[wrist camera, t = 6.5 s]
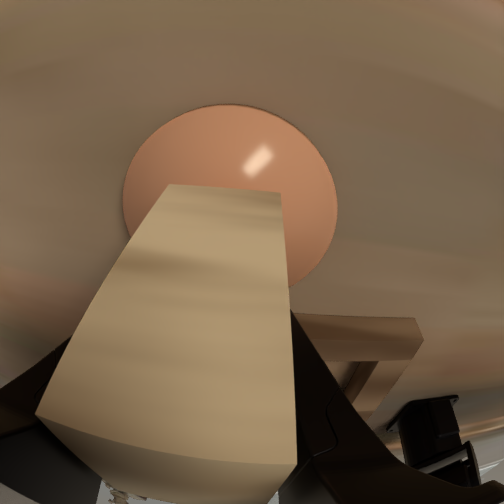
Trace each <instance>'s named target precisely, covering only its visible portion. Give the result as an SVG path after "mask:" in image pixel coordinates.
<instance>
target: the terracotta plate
mask: <svg viewBox="0 0 504 504" xmlns="http://www.w3.org/2000/svg"><path fill="white" fill-rule="evenodd" d="M169 184H176V185H193V186H209V187H222V188H235V189H247V190H258V191H269V192H279V193H281V204H282V215H283V226H284V238H285V250H286V262H287V275H288V288H289V287H291V286H293V285H294V284H296V283H297V282H299V281H300V280H301V279H303V278H304V277H305V276H306V275H307V274H308V273H310V272H311V271H312V270H313V269H314V267H315V266H316V265H317V264H318V263H319V262H320V260H321V259H322V257H323V256H324V254H325V253H326V251H327V249H328V247H329V245H330V243H331V240H332V237H333V234H334V231H335V227H336V221H337V196H336V189H335V186H334V183H333V179H332V176H331V174H330V172H329V169H328V167H327V165H326V163H325V161H324V160H323V158H322V156H321V155H320V153H319V152H318V150H317V149H316V147H315V146H314V144H313V143H312V142H311V141H310V140H309V139H308V138H307V136H306V135H305V134H304V133H303V132H301V131H300V130H299V129H298V128H297V127H295V126H294V125H293V124H291V123H290V122H288V121H287V120H285V119H283V118H282V117H280V116H278V115H276V114H273V113H271V112H269V111H266V110H263V109H260V108H256V107H253V106H248V105H240V104H216V105H209V106H203V107H200V108H197V109H193V110H190V111H188V112H186V113H184V114H181V115H179V116H177V117H176V118H174V119H172V120H171V121H169V122H168V123H166V124H165V125H163V126H162V127H160V128H159V129H158V130H156V131H155V132H154V133H153V134H152V135H151V136H150V137H149V138H148V139H147V140H146V141H145V142H144V143H143V145H142V146H141V147H140V148H139V150H138V151H137V153H136V155H135V156H134V158H133V160H132V162H131V164H130V167H129V169H128V172H127V174H126V178H125V183H124V188H123V212H124V218H125V223H126V226H127V229H128V232H129V235H130V237H131V238H132V236H133V235H134V233H135V232H136V230H137V229H138V227H139V226H140V224H141V223H142V221H143V220H144V218H145V217H146V216H147V214H148V213H149V211H150V210H151V208H152V207H153V206H154V204H155V203H156V201H157V200H158V199H159V197H160V196H161V194H162V193H163V192H164V190H165V189H166V188H167V186H168V185H169Z"/></svg>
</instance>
